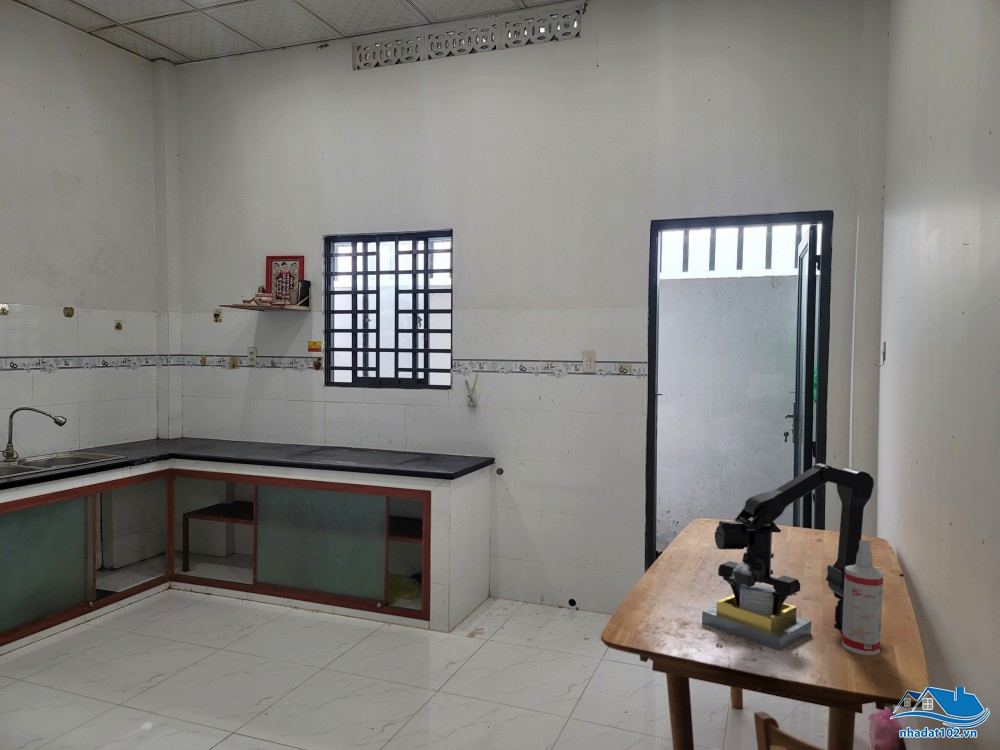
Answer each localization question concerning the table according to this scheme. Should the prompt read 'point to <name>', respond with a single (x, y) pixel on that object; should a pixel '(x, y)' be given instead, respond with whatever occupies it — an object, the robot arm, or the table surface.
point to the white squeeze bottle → (862, 604)
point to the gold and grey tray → (758, 623)
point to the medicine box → (757, 599)
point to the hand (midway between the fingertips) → (756, 611)
